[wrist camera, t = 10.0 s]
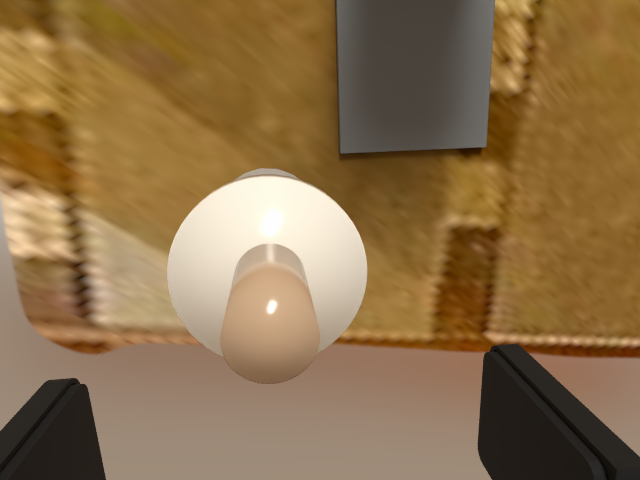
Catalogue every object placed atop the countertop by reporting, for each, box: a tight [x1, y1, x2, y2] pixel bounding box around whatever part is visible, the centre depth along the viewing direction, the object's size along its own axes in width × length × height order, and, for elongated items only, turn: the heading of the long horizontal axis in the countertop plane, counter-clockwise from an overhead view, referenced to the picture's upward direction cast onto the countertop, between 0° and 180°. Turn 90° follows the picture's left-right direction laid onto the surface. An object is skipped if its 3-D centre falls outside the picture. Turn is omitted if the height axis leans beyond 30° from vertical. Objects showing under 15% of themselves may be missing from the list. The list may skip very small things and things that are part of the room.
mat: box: [336, 0, 495, 154], centre depth 31 cm, size 11×11×1 cm
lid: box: [167, 174, 367, 384], centre depth 18 cm, size 9×9×8 cm
